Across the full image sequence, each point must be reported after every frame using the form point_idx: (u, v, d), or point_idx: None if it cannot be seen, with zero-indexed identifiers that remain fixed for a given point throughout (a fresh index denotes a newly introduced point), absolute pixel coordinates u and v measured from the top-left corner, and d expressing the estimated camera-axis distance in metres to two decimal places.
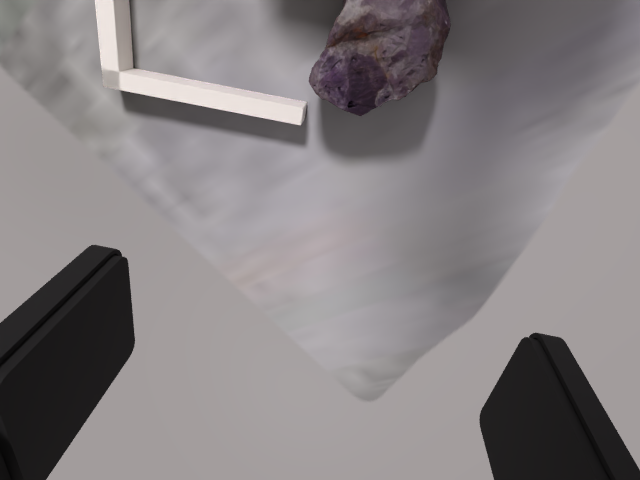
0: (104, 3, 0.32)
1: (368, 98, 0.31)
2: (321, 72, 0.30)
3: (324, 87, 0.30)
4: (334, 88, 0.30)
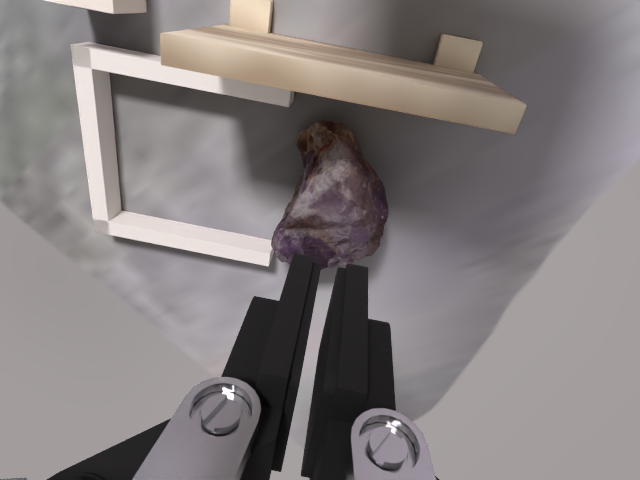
0: (95, 171, 0.37)
1: (321, 262, 0.36)
2: (280, 244, 0.35)
3: (283, 255, 0.35)
4: (291, 255, 0.35)
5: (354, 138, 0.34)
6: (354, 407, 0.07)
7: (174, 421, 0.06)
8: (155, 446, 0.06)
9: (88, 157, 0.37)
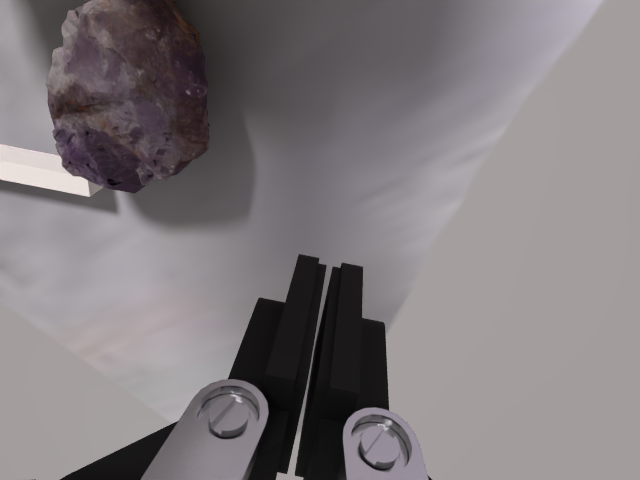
0: None
1: (129, 176, 0.24)
2: (60, 146, 0.23)
3: (69, 164, 0.24)
4: (81, 164, 0.24)
5: None
6: (347, 406, 0.07)
7: (182, 423, 0.06)
8: (163, 448, 0.06)
9: None
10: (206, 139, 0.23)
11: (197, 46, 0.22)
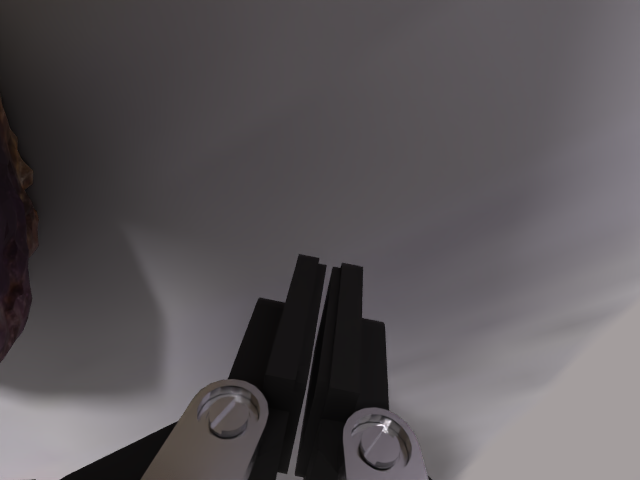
0: None
1: None
2: None
3: None
4: None
5: None
6: (346, 406, 0.07)
7: (182, 423, 0.06)
8: (163, 448, 0.06)
9: None
10: None
11: None
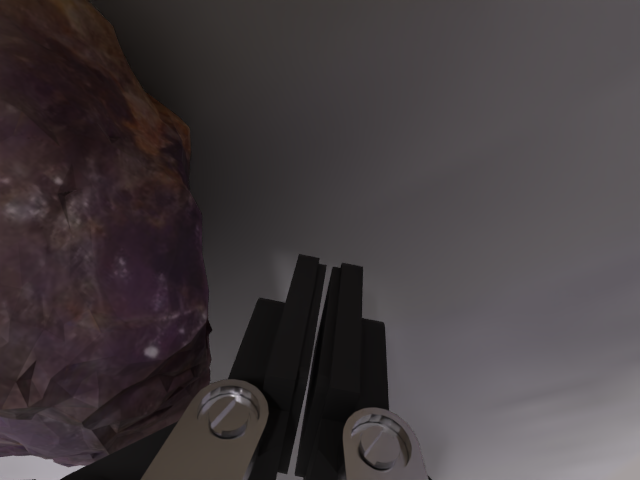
0: None
1: None
2: None
3: None
4: None
5: (98, 24, 0.09)
6: (346, 406, 0.07)
7: (182, 423, 0.06)
8: (163, 448, 0.06)
9: None
10: None
11: (183, 191, 0.08)
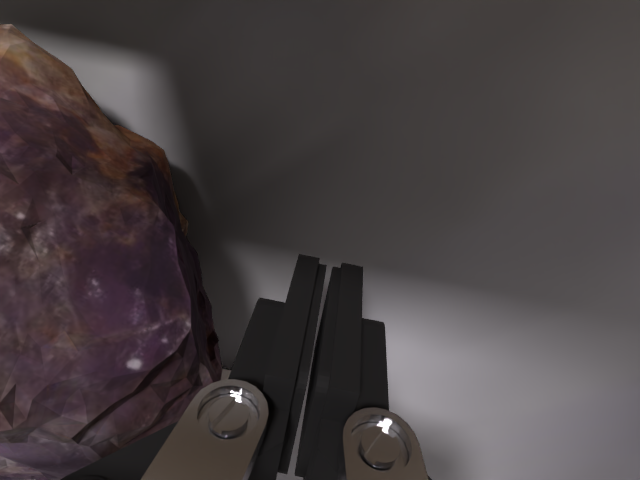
0: None
1: None
2: None
3: None
4: None
5: (56, 69, 0.10)
6: (346, 406, 0.07)
7: (182, 423, 0.06)
8: (163, 448, 0.06)
9: None
10: None
11: (151, 208, 0.09)
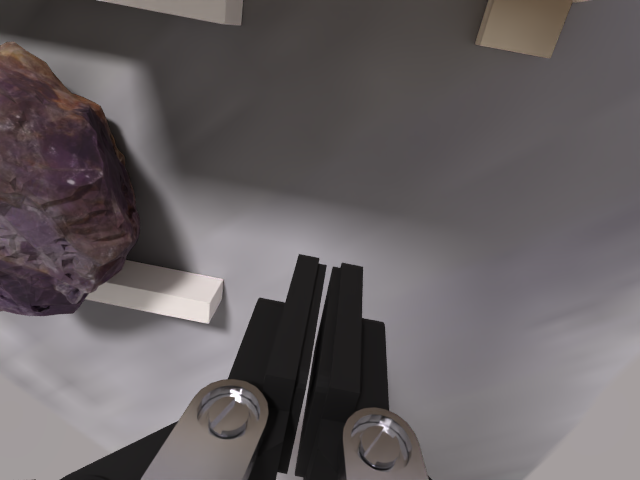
0: None
1: (54, 297, 0.20)
2: None
3: None
4: None
5: (37, 62, 0.18)
6: (346, 407, 0.07)
7: (182, 423, 0.06)
8: (163, 448, 0.06)
9: None
10: (125, 230, 0.18)
11: (83, 122, 0.17)
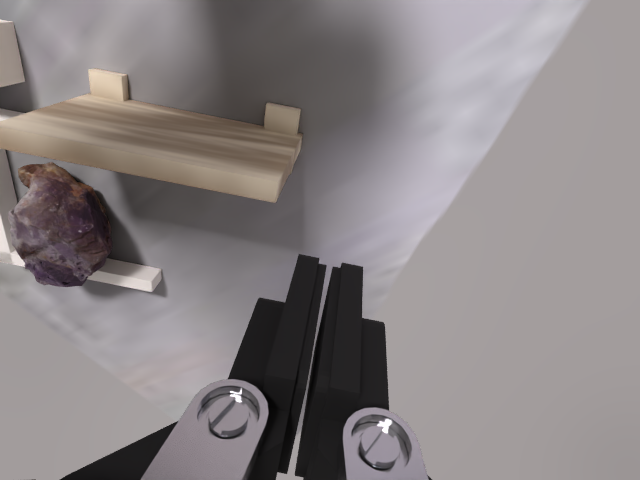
0: None
1: (72, 278, 0.42)
2: (32, 271, 0.42)
3: (39, 279, 0.42)
4: (45, 278, 0.42)
5: (62, 171, 0.40)
6: (346, 406, 0.07)
7: (182, 423, 0.06)
8: (163, 448, 0.06)
9: None
10: (104, 249, 0.40)
11: (84, 202, 0.39)
